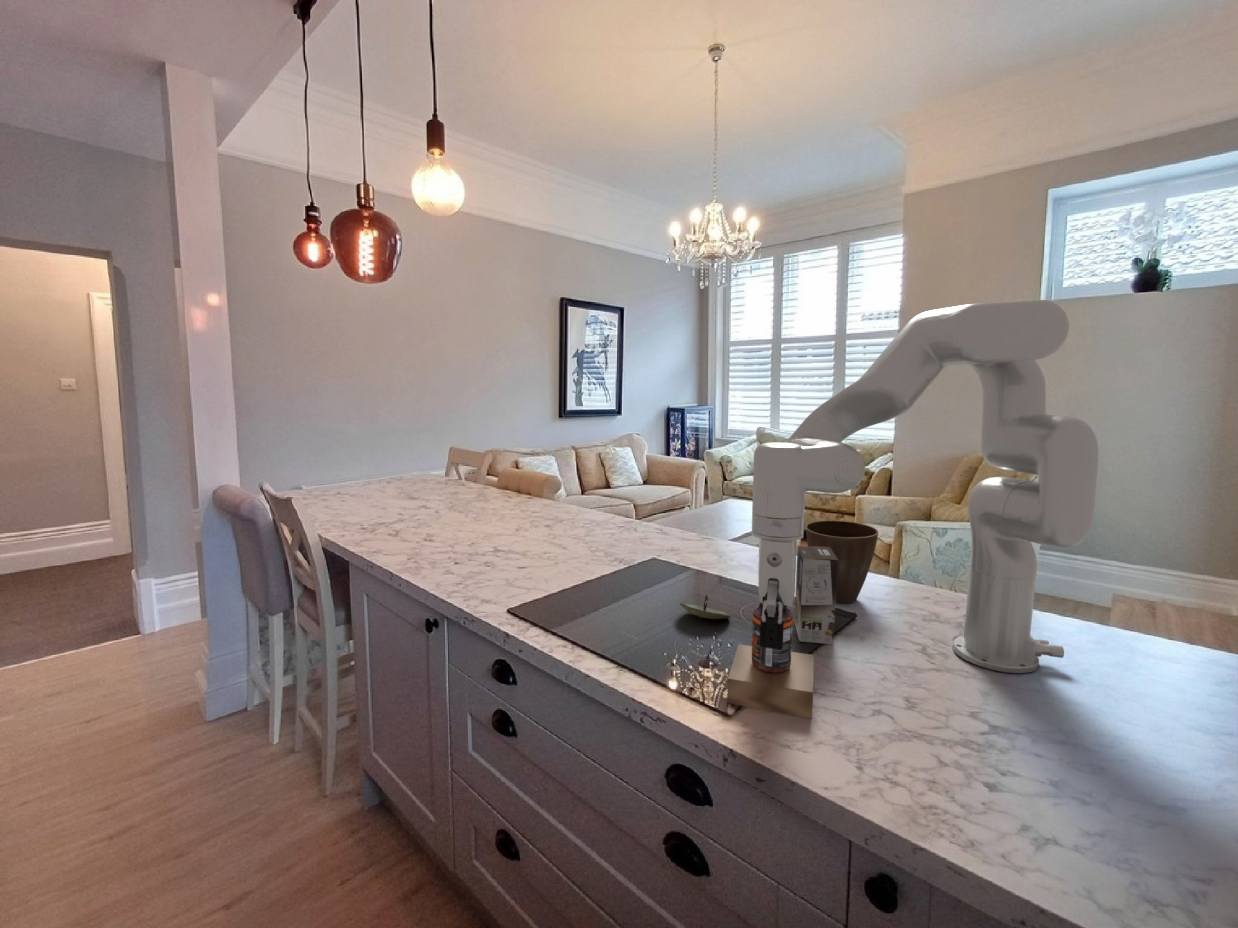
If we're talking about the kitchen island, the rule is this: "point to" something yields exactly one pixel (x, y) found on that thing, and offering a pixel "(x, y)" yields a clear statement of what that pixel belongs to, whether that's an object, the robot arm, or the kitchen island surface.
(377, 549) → the kitchen island surface
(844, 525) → the plant pot
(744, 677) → the tan block
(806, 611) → the coffee box
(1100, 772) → the kitchen island surface
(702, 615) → the lid
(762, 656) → the supplement bottle
